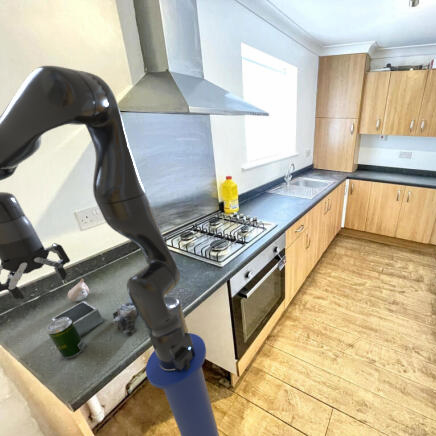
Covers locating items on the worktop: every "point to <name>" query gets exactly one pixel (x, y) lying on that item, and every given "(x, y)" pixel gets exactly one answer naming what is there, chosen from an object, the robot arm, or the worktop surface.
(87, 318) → the open square box
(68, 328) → the beer can
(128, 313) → the foil
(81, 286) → the garlic bulb
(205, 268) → the worktop surface
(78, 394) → the worktop surface
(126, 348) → the worktop surface
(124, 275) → the worktop surface
